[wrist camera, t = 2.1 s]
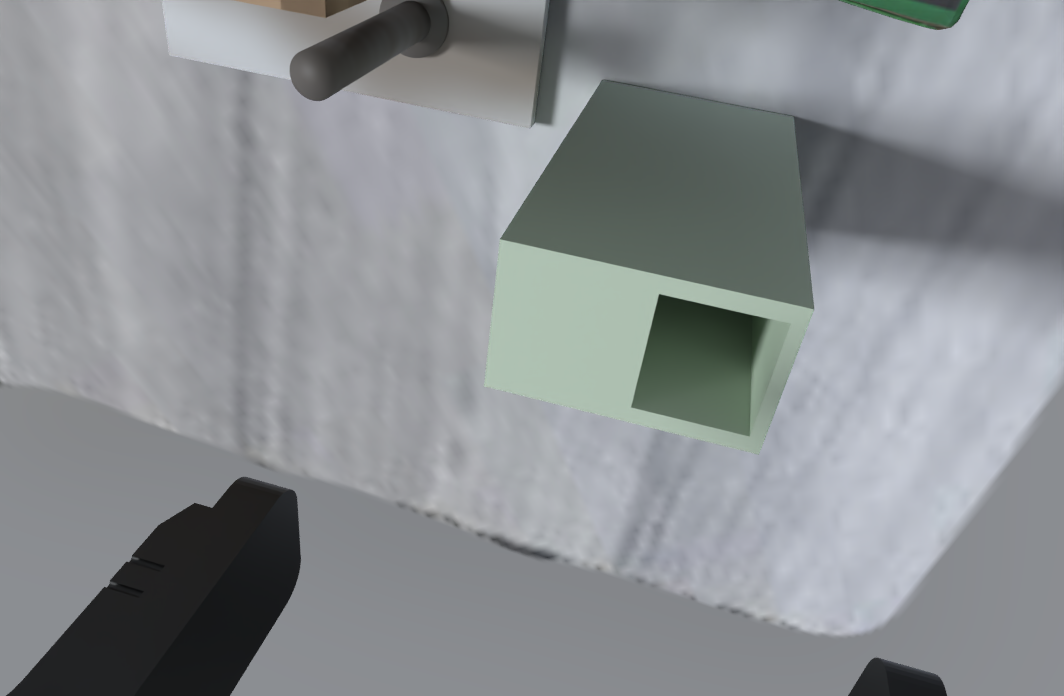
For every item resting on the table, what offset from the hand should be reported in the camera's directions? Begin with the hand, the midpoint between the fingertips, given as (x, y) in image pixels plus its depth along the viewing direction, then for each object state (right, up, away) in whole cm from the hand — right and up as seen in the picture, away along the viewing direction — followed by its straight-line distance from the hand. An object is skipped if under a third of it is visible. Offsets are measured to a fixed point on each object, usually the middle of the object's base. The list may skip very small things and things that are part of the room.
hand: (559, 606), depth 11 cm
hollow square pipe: (+5, +10, +15) cm, 18 cm away
